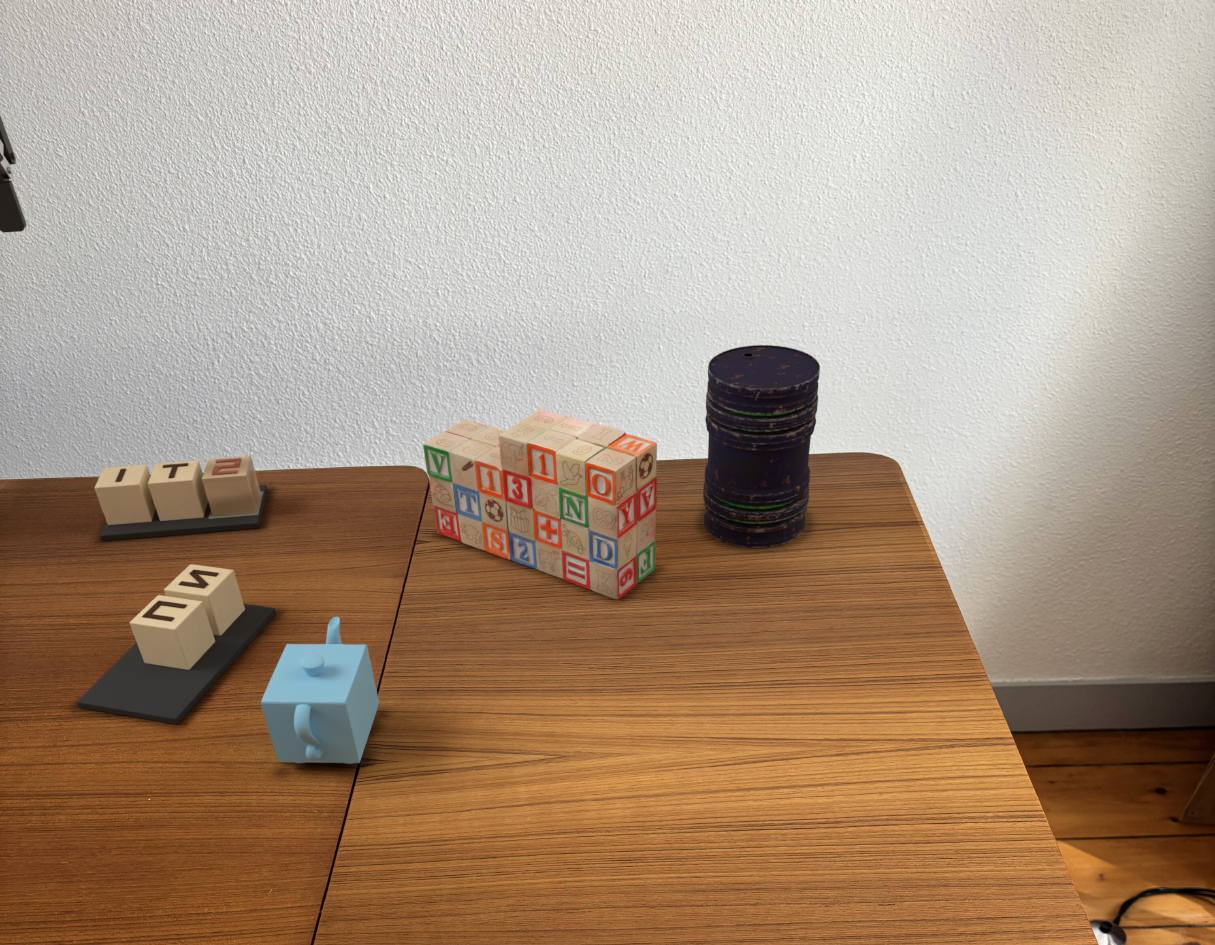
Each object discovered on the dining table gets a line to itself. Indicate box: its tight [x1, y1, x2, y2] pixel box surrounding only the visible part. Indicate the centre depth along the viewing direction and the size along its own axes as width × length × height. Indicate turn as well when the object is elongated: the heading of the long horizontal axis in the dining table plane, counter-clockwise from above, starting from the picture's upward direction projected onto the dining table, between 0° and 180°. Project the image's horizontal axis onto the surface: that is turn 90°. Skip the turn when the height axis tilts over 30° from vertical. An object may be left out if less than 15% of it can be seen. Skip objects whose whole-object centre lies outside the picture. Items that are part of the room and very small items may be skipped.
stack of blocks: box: [422, 408, 658, 600], centre depth 101 cm, size 21×6×12 cm, turn 55°
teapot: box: [260, 616, 380, 765], centre depth 84 cm, size 12×6×8 cm, turn 177°
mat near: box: [76, 563, 277, 725], centre depth 93 cm, size 9×16×5 cm, turn 164°
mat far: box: [94, 460, 268, 542], centre depth 111 cm, size 15×8×5 cm, turn 96°
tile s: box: [202, 455, 261, 516], centre depth 111 cm, size 4×4×4 cm
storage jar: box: [702, 344, 821, 549], centre depth 103 cm, size 10×10×15 cm
